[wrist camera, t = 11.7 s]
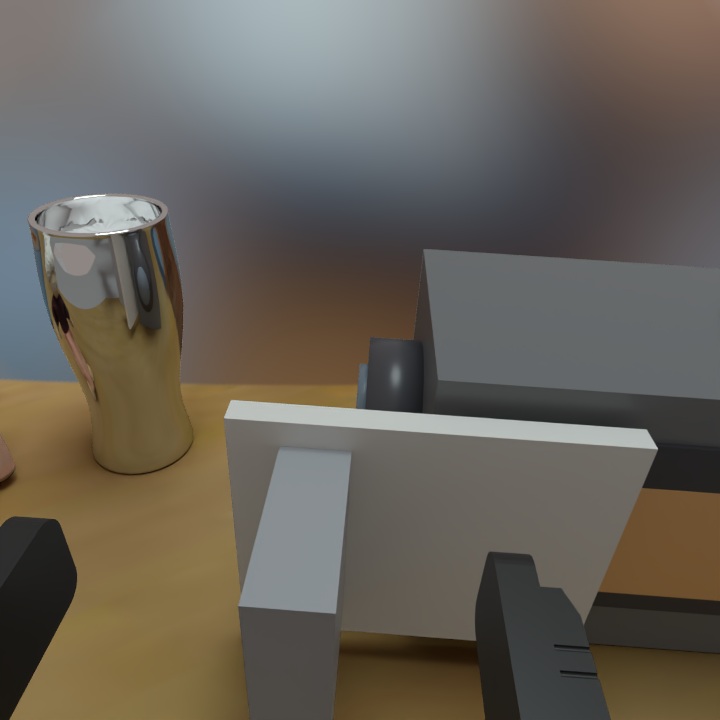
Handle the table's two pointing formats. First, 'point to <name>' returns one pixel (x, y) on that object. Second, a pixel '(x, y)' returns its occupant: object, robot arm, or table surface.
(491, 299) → the box
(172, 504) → the table surface
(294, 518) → the side door
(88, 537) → the table surface
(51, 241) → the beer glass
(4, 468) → the grandmother figurine
